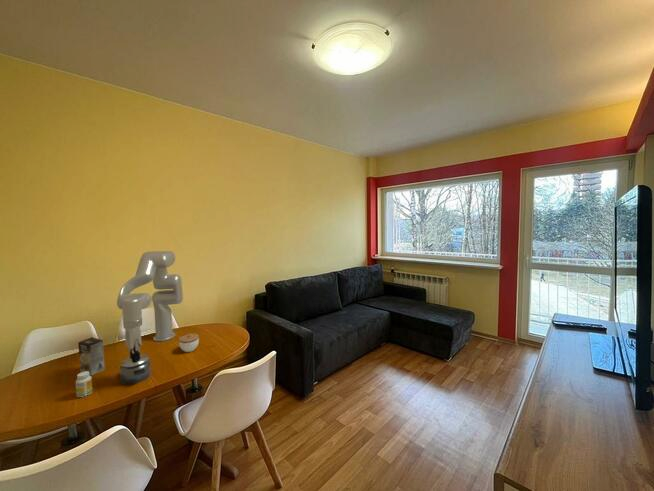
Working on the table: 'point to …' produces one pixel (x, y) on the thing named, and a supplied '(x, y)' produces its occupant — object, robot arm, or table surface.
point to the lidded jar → (189, 342)
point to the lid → (129, 363)
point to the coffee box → (91, 355)
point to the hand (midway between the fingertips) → (135, 358)
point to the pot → (135, 373)
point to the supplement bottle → (83, 384)
